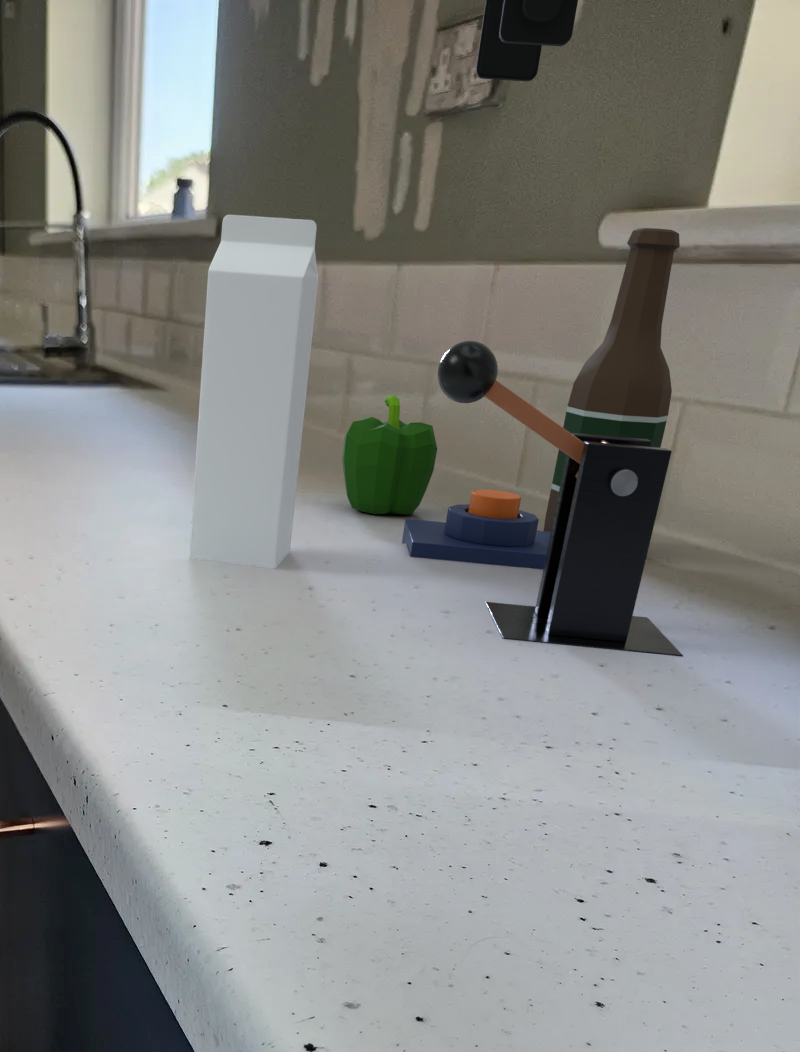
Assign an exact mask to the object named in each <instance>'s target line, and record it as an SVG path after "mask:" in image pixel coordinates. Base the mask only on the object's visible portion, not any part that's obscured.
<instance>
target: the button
mask: <svg viewBox="0 0 800 1052" xmlns="http://www.w3.org/2000/svg"><path fill="white" fill-rule="evenodd" d="M521 499H522V496H521V495H519V494H517V493H514V492H508V491H503V490H494V489H474V490H472V491H471V494H470V499H469V504H470V505H469V511H468V513H470V514H473V515H478V516H484V517H489V518H500V519H517V517H518V512H519V510H520V507H521V506H520V505H521Z"/></svg>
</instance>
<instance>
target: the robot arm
mask: <svg viewBox="0 0 800 1052" xmlns="http://www.w3.org/2000/svg"><path fill="white" fill-rule="evenodd" d="M578 2H579V0H485V3H484V9H483V17H482V22H481V23H482V24H481V30H480V31H481V32H480V38H479V44H478V51H477V57H476V64H475V75H476V76H477V78H478V79H481V80H494V81H495V80H496V81H511V82H532V81H533V80H534V79H535V78H536V77H537V75H538V72H539V66H540V60H541V59H540V58H541V53H542V48H543V46H546V47H547V46H549V47H550V46H551V47H563V46H565V45H566V44H567V43H569V41H571V38H572V36H573V33H574V26H575V20H576V15H577V9H578Z"/></svg>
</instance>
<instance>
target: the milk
mask: <svg viewBox="0 0 800 1052" xmlns="http://www.w3.org/2000/svg"><path fill="white" fill-rule="evenodd" d="M317 227H318V226H317V222H315V220H313V219H300V218H289V217H274V216H273V217H272V216H256V215H241V214H226V215H225V216H223V219H222V224H221V235H220V236H221V237H220V243H219V245H218V247H217V249H216V252H215V254H214V256H213V258H212V261H211V262H210V265H209V268H208V271H207V285H206V297H205V298H206V299H205V314H204V330H203V342H202V343H203V346H202V357H201V358H202V360H201V373H200V389H199V404H198V419H197V420H198V421H197V435H196V448H195V450H196V451H195V463H194V481H193V492H192V493H193V494H192V508H191V522H190V523H191V526H190V538H189V539H190V540H189V554H188V558H189V559H191V560H200V561H207V562H215V563H223V564H233V565H240V566H245V567H256V568H263V569H269V570H275V569H277V568H278V566H279V565H280V564H281V563H282V562H283V561H284V559H285V558H286V557H287V556H288V555H289V554H290V552H291V544H292V535H293V526H294V516H295V506H296V497H297V487H298V477H299V468H300V458H301V449H302V438H303V432H304V431H303V429H304V422H305V421H304V420H305V411H306V401H307V392H308V382H309V371H310V363H311V353H312V344H313V334H314V324H315V316H316V305H317V296H318V286H319V272H318V265H317V264H318V263H317V255H316V247H315V246H316V239H317V229H318V228H317Z"/></svg>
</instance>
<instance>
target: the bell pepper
mask: <svg viewBox="0 0 800 1052" xmlns="http://www.w3.org/2000/svg"><path fill="white" fill-rule="evenodd" d="M384 404H385V406H386V407H388V420H387V421H383V422H382V421H381V420H380V419H379V418H376V417H374V416H365V417H363V418H361V419H358V420H355V421H352V422H351V425H350V426H349V429H348V430H347V432H346V434H345V436H344V438H343V447H342V457H341V458H342V460H341V461H342V469H343V479H344V485H345V493H346V497H347V500H348V502H349V504H350V507H351V508H352V509H354V510H357V511H359V512H362V513H366V514H371V515H377V516H378V515H388V514H389V515H393V516H394V515H395V516H406V515H411V514H413V513H414V512H415V511H416V510H417V509H418V508H419V507H420V505H421V503H422V500H423V498H424V495H425V494H426V491H427V489H428V487H429V484H430V482H431V481H430V480H431V478H432V476H433V473H434V471H435V465H436V459H437V453H438V444H437V440H436V436H435V431H434V427H433V425H432V424H428V423H425V422H422V421H420V422H409V423H405V422H404V421H402V420H401V419H400V416H401V415H400V413H401V404H400V399H399V398H398V396H396V395H395V394H388V395H386V397H385V398H384Z"/></svg>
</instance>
